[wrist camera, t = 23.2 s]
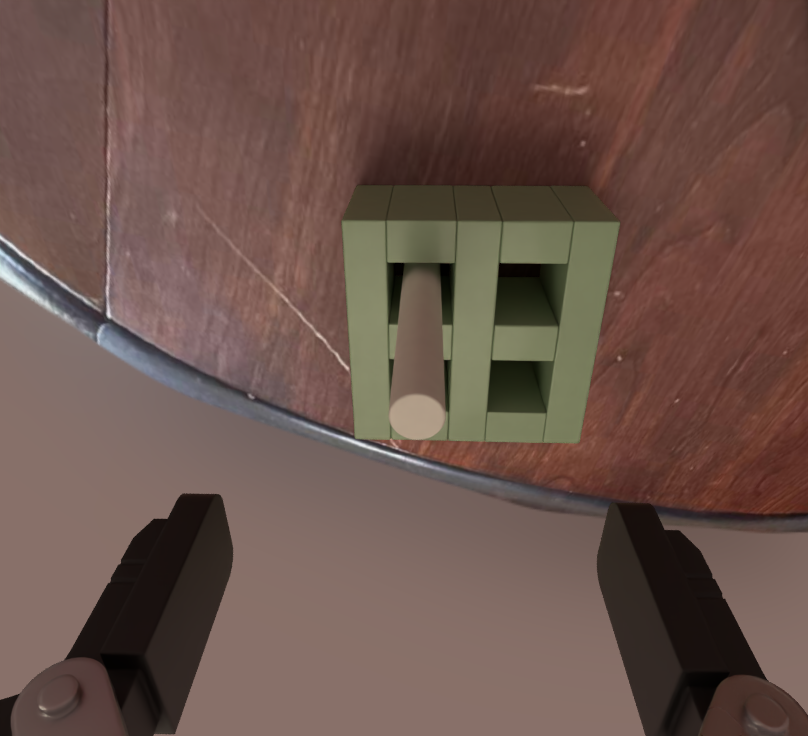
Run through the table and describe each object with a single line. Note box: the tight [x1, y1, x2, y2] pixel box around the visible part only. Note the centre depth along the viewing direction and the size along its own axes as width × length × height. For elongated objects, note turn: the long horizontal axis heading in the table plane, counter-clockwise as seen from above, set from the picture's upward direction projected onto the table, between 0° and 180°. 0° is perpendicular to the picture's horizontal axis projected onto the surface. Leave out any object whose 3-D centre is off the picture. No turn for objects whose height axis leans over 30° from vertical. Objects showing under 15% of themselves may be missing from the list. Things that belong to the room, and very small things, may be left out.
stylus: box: [388, 263, 446, 440], centre depth 21 cm, size 2×2×13 cm
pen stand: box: [341, 185, 620, 443], centre depth 25 cm, size 10×10×5 cm
